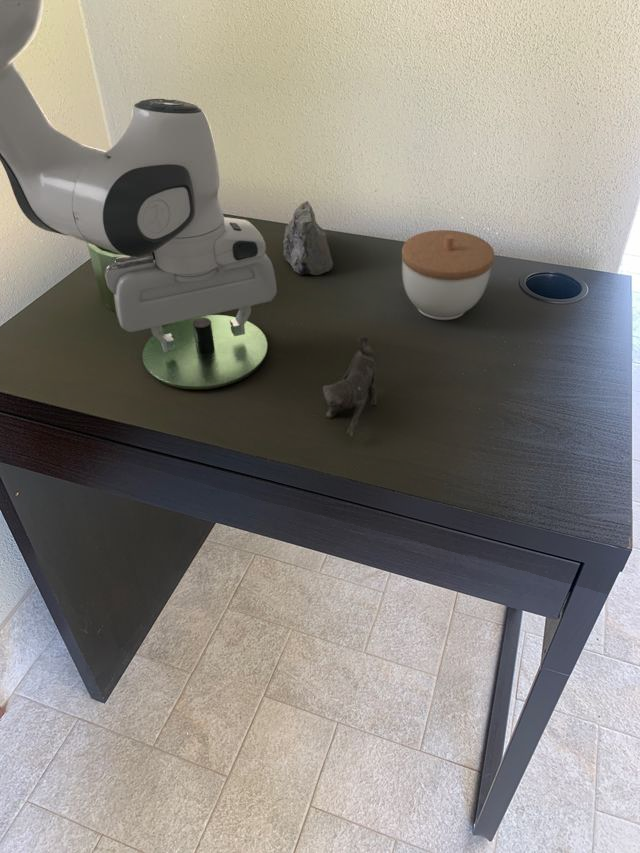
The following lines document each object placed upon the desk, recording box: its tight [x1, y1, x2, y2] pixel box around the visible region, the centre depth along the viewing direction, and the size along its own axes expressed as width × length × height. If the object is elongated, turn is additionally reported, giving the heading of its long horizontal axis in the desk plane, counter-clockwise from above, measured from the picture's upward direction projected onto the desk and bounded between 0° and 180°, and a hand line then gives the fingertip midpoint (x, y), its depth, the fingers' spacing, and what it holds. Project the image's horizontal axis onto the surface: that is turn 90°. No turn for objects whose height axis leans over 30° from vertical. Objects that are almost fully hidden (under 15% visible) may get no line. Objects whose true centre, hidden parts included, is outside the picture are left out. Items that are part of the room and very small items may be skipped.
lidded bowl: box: [401, 229, 495, 321], centre depth 97 cm, size 13×13×11 cm
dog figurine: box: [322, 334, 378, 437], centre depth 81 cm, size 12×6×7 cm, turn 159°
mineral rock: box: [282, 200, 334, 276], centre depth 109 cm, size 13×11×10 cm
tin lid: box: [142, 314, 269, 390], centre depth 90 cm, size 17×17×5 cm
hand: (204, 341), depth 90 cm, fingers open, 8 cm apart
